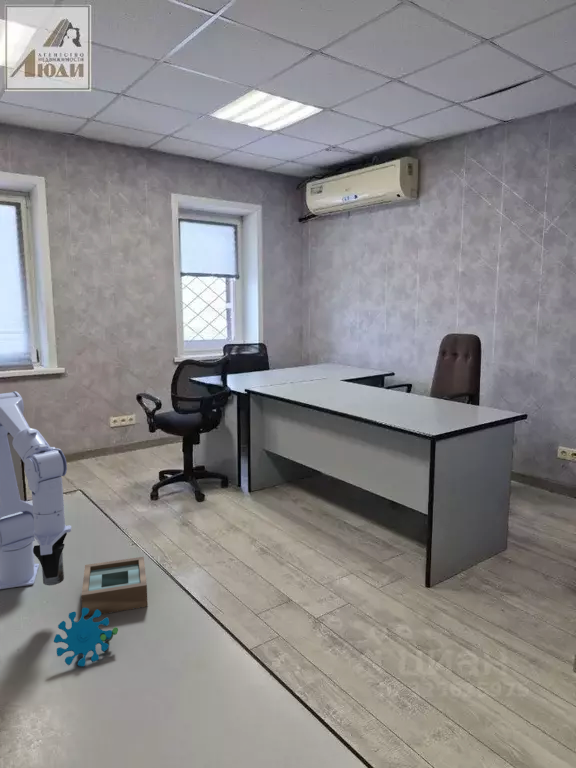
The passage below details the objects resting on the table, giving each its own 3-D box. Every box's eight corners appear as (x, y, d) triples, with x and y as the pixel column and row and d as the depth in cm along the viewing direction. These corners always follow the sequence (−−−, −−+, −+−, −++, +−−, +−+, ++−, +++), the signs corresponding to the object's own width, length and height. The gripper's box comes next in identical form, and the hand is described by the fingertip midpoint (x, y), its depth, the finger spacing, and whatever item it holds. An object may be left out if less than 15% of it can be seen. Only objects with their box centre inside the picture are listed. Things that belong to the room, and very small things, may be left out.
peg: (44, 576, 109) (42, 545, 108) (64, 573, 110) (62, 543, 109) (41, 586, 105) (39, 554, 104) (63, 583, 106) (61, 551, 105)
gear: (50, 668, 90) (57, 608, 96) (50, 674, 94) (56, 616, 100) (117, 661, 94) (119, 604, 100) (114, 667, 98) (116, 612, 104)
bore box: (86, 585, 119) (85, 564, 119) (144, 576, 123) (143, 556, 123) (82, 617, 107) (81, 595, 106) (147, 606, 111) (146, 585, 110)
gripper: (66, 521, 100) (70, 586, 102) (72, 494, 113) (76, 552, 115) (26, 525, 97) (31, 592, 100) (37, 497, 111) (41, 556, 113)
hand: (53, 571), depth 107 cm, fingers closed on peg, 4 cm apart
